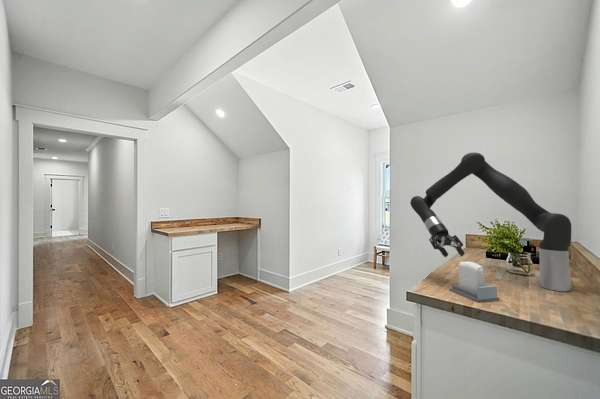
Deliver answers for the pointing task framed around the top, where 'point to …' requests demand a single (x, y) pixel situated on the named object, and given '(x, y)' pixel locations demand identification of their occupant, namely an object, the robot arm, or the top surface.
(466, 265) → the photo printer
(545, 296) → the top surface
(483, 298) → the charging dock
